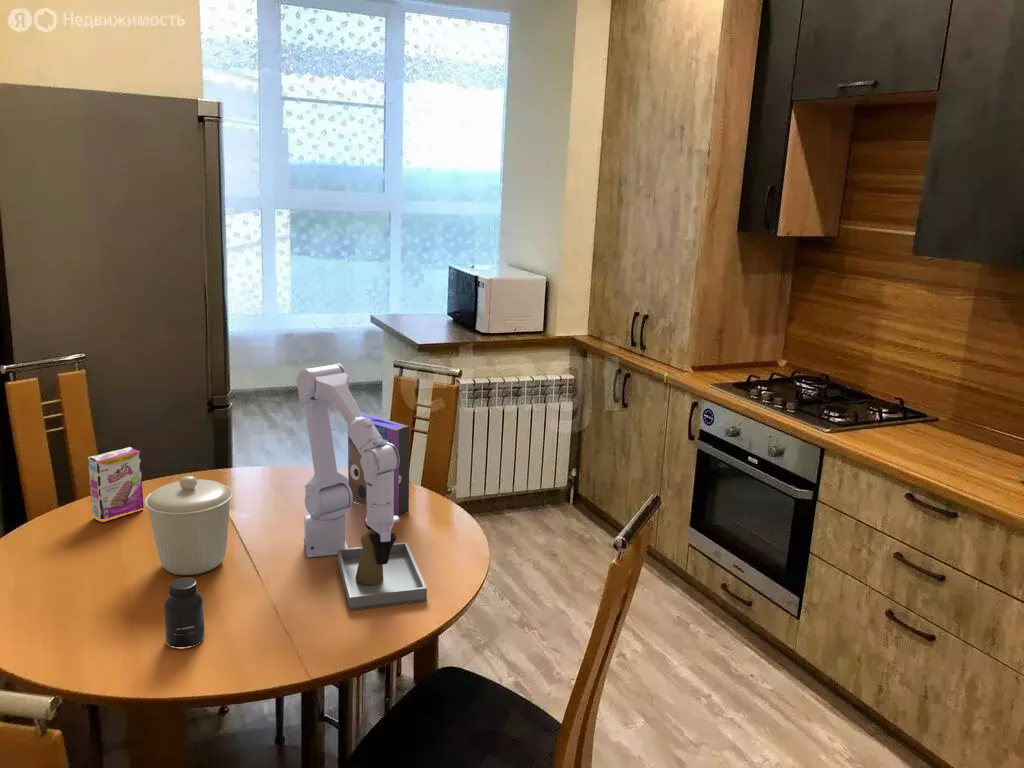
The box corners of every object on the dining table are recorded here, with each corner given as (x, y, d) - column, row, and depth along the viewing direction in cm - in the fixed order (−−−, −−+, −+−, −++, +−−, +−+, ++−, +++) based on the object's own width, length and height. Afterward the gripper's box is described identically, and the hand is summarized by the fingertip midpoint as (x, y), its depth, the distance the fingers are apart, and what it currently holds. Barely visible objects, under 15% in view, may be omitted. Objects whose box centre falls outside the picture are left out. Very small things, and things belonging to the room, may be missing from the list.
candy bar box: (102, 524, 199) (96, 461, 195) (92, 519, 202) (85, 457, 198) (145, 510, 208) (140, 450, 204) (134, 505, 211) (129, 445, 207)
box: (349, 610, 166) (349, 597, 165) (337, 561, 186) (337, 549, 185) (426, 600, 171) (426, 588, 170) (406, 553, 191) (406, 542, 190)
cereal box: (348, 500, 220) (347, 415, 213) (361, 495, 223) (360, 411, 217) (396, 517, 210) (396, 429, 204) (408, 512, 214) (409, 425, 208)
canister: (135, 563, 181) (127, 475, 176) (212, 539, 194) (207, 456, 189) (172, 593, 169) (165, 500, 164) (251, 565, 182) (247, 478, 177)
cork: (360, 586, 173) (364, 538, 171) (351, 573, 178) (355, 527, 176) (387, 583, 176) (391, 536, 174) (378, 570, 181) (382, 524, 179)
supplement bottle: (181, 654, 149) (177, 596, 146) (158, 642, 152) (153, 585, 149) (213, 637, 154) (209, 581, 151) (189, 626, 158) (186, 570, 155)
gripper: (405, 511, 168) (404, 571, 171) (392, 485, 181) (392, 541, 185) (370, 515, 166) (371, 575, 169) (360, 488, 179) (361, 544, 183)
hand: (380, 557), depth 177 cm, fingers closed on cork, 5 cm apart
